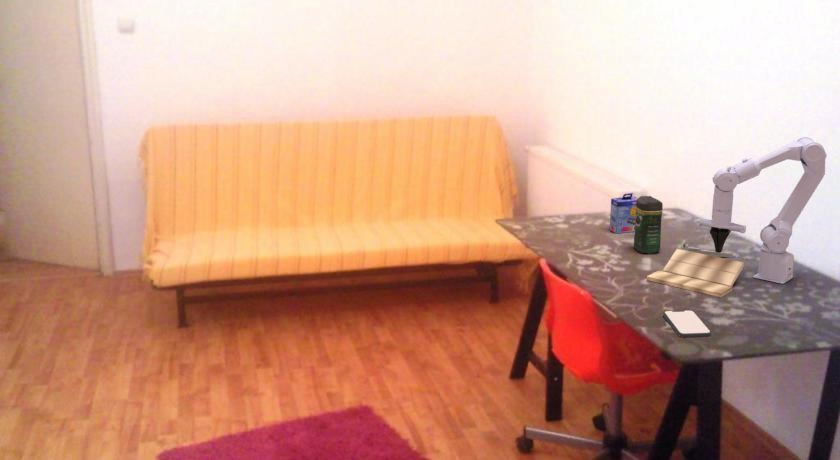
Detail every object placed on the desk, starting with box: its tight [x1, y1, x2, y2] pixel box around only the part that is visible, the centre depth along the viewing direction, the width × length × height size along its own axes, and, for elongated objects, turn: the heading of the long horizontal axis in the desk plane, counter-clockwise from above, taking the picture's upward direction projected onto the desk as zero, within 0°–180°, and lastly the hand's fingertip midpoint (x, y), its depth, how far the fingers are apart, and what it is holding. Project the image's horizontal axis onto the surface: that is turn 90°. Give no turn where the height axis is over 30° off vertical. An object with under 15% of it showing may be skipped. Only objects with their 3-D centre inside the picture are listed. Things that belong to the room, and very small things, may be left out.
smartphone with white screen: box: [662, 309, 712, 338], centre depth 239 cm, size 9×2×16 cm
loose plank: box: [663, 248, 745, 286], centre depth 275 cm, size 22×10×1 cm
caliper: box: [680, 243, 737, 259], centre depth 293 cm, size 20×1×6 cm, turn 103°
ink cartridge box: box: [609, 192, 639, 234], centre depth 325 cm, size 10×6×14 cm, turn 107°
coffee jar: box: [633, 195, 664, 255], centre depth 301 cm, size 10×8×19 cm
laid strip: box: [646, 269, 734, 298], centre depth 269 cm, size 24×8×1 cm, turn 47°
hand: (718, 251), depth 275 cm, fingers closed
